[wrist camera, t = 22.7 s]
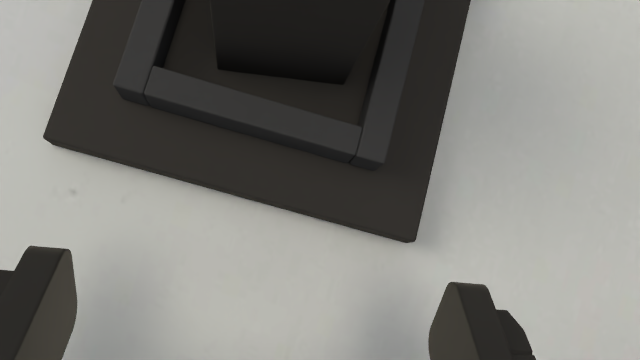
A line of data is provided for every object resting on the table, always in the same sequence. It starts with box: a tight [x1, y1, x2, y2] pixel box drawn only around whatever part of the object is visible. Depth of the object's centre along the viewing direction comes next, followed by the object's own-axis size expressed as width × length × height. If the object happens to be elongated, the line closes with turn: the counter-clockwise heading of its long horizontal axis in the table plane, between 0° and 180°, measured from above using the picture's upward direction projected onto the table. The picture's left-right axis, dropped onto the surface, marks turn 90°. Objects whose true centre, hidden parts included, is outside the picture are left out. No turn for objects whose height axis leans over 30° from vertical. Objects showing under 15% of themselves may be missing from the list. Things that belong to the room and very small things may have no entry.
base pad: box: [43, 0, 471, 243], centre depth 21 cm, size 13×13×2 cm
